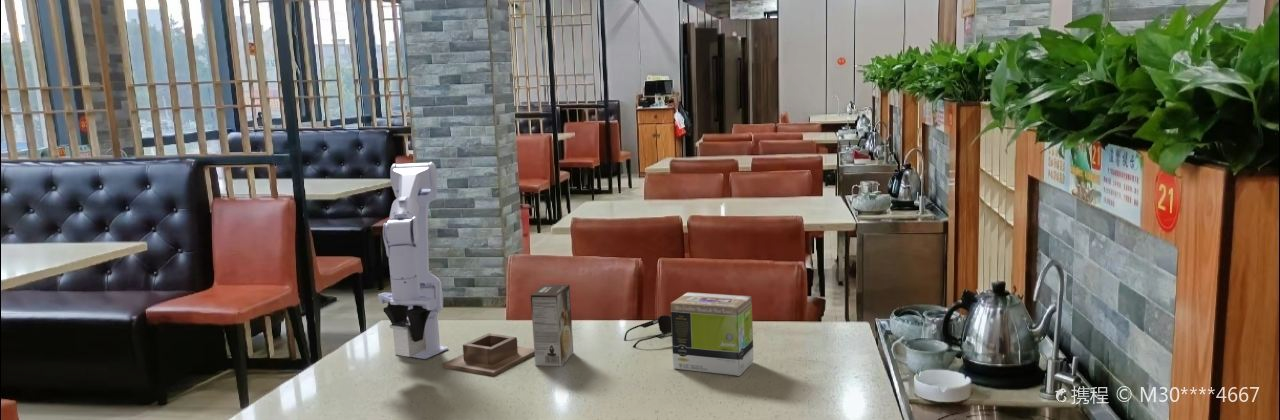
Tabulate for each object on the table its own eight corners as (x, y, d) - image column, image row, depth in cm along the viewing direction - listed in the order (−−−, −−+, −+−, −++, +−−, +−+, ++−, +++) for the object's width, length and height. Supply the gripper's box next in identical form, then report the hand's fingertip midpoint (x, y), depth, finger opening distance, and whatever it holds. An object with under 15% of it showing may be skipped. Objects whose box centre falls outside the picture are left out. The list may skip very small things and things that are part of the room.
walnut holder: (443, 367, 190) (441, 347, 189) (489, 345, 204) (488, 327, 203) (493, 376, 183) (491, 356, 183) (537, 353, 197) (536, 334, 196)
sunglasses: (685, 342, 201) (681, 322, 200) (638, 357, 196) (634, 336, 195) (666, 330, 210) (663, 311, 209) (621, 344, 206) (617, 324, 205)
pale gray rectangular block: (392, 355, 181) (389, 325, 180) (414, 345, 186) (412, 316, 185) (406, 358, 179) (403, 327, 178) (429, 348, 185) (426, 318, 183)
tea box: (754, 362, 186) (753, 295, 183) (739, 377, 177) (738, 307, 174) (689, 354, 192) (687, 289, 190) (671, 369, 183) (669, 301, 181)
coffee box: (547, 352, 197) (542, 283, 195) (574, 352, 196) (570, 283, 193) (534, 366, 189) (529, 294, 186) (562, 366, 187) (558, 294, 185)
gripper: (364, 277, 180) (370, 340, 182) (417, 284, 173) (422, 349, 175) (389, 269, 186) (395, 330, 188) (441, 275, 179) (446, 338, 181)
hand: (410, 339), depth 182 cm, fingers closed on pale gray rectangular block, 4 cm apart
